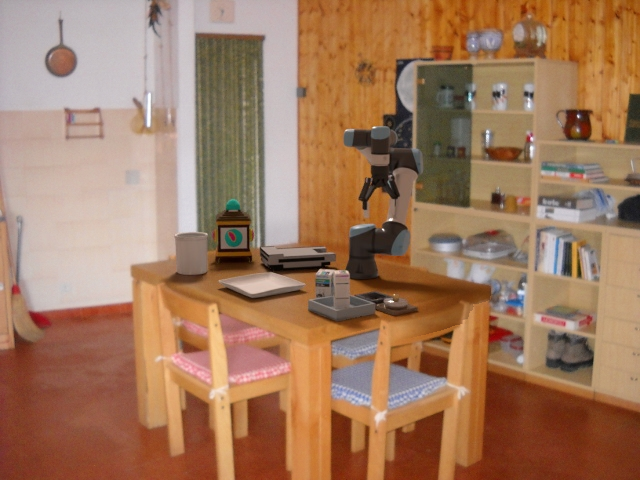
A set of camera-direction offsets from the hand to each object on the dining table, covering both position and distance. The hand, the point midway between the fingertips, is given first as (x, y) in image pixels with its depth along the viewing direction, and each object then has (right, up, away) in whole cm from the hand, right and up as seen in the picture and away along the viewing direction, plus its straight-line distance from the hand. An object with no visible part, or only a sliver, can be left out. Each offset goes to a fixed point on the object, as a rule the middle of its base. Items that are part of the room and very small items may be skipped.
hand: (379, 216), depth 320 cm
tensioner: (+1, -35, -20) cm, 41 cm away
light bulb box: (-22, -33, -9) cm, 41 cm away
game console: (-35, -23, +49) cm, 65 cm away
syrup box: (-16, -36, -29) cm, 49 cm away
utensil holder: (-83, -25, +34) cm, 93 cm away
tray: (-16, -37, -29) cm, 50 cm away
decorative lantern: (-67, -20, +61) cm, 93 cm away
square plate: (-49, -31, +4) cm, 58 cm away
